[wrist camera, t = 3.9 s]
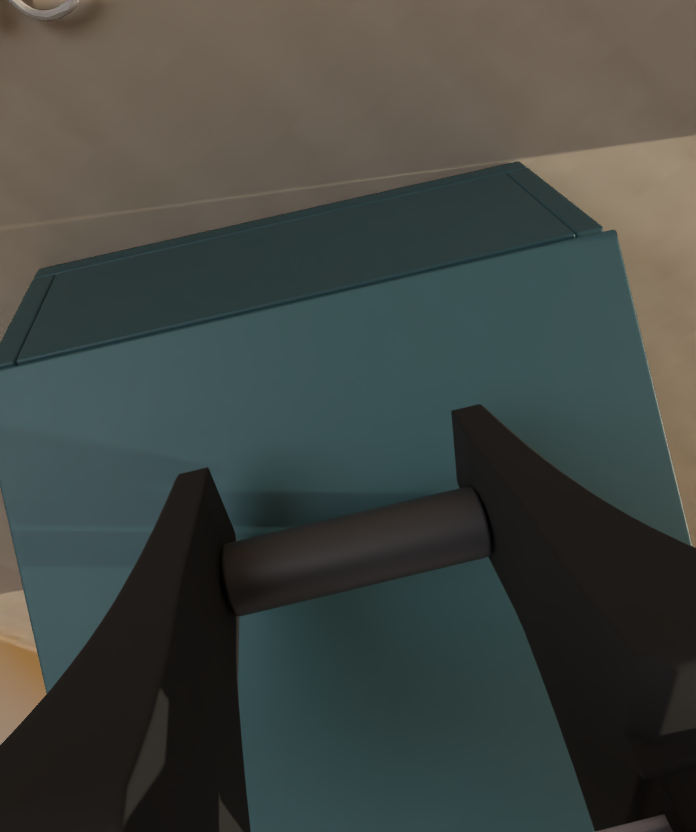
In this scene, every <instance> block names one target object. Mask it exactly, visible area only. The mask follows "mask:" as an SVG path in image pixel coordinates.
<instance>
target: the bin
mask: <svg viewBox="0 0 696 832" xmlns="http://www.w3.org/2000/svg"><path fill="white" fill-rule="evenodd" d="M601 232H603V227H602V226H601V225H600V224H598V223H597V222H596V221H594V220H593V219H592V218H591V217H589V216H588V215H587V214H586V213H584V212H583V211H582V210H580V209H579V208H578V207H577V206H575V205H574V204H573V203H572V202H570V201H569V200H568V199H567V198H565V197H564V196H563V195H561V194H560V193H559V192H558V191H556V190H555V189H554V188H553V187H551V186H550V185H549V184H547V183H546V182H545V181H544V180H542V179H541V178H540V177H539V176H537V175H536V174H535V173H533V172H532V171H531V170H530V169H528V168H526V166H524V165H523V164H522V163H520V162H514V163H509V164H505V165H500V166H496V167H492V168H487V169H483V170H478V171H474V172H469V173H465V174H460V175H456V176H451V177H447V178H443V179H438V180H434V181H429V182H425V183H420V184H416V185H411V186H407V187H403V188H398V189H394V190H389V191H385V192H380V193H376V194H371V195H367V196H363V197H358V198H354V199H349V200H345V201H340V202H336V203H331V204H327V205H322V206H318V207H314V208H309V209H305V210H300V211H296V212H291V213H287V214H282V215H278V216H274V217H269V218H265V219H260V220H256V221H251V222H247V223H242V224H238V225H233V226H229V227H225V228H220V229H216V230H211V231H207V232H202V233H198V234H193V235H189V236H185V237H180V238H176V239H171V240H167V241H162V242H158V243H153V244H149V245H145V246H140V247H136V248H131V249H127V250H122V251H118V252H113V253H109V254H104V255H100V256H96V257H91V258H87V259H82V260H78V261H73V262H69V263H64V264H60V265H56V266H51V267H47V268H42V269H39V270H38V271H37V273H36V275H35V277H34V280H33V281H32V283H31V285H30V287H29V289H28V290H27V292H26V294H25V296H24V298H23V300H22V302H21V304H20V306H19V308H18V310H17V312H16V313H15V315H14V317H13V319H12V321H11V323H10V325H9V327H8V329H7V331H6V333H5V335H4V337H3V338H2V340H1V342H0V369H5V368H9V367H13V366H18V365H22V364H27V363H31V362H35V361H40V360H44V359H48V358H53V357H57V356H62V355H66V354H70V353H75V352H79V351H84V350H88V349H92V348H97V347H101V346H105V345H110V344H114V343H119V342H123V341H127V340H132V339H136V338H141V337H145V336H149V335H154V334H158V333H162V332H167V331H171V330H176V329H180V328H184V327H189V326H193V325H198V324H202V323H206V322H211V321H215V320H219V319H224V318H228V317H233V316H237V315H241V314H246V313H250V312H255V311H259V310H263V309H268V308H272V307H276V306H281V305H285V304H290V303H294V302H298V301H303V300H307V299H312V298H316V297H320V296H325V295H329V294H333V293H338V292H342V291H347V290H351V289H355V288H360V287H364V286H368V285H373V284H377V283H382V282H386V281H390V280H395V279H399V278H404V277H408V276H412V275H417V274H421V273H425V272H430V271H434V270H439V269H443V268H447V267H452V266H456V265H461V264H465V263H469V262H474V261H478V260H482V259H487V258H491V257H496V256H500V255H504V254H509V253H513V252H518V251H522V250H526V249H531V248H535V247H539V246H544V245H548V244H553V243H557V242H561V241H566V240H570V239H575V238H579V237H583V236H588V235H592V234H596V233H601Z"/></svg>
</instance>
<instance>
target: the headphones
mask: <svg viewBox="0 0 696 832" xmlns="http://www.w3.org/2000/svg"><path fill="white" fill-rule="evenodd" d="M8 1H10V2H11V3H12V4H13V5H14V6H15V7H16V8H17V9H18V10H19V11H21V12H22V13H24V14H26V15H27V16H29V17H31V18H34V19H37V20H43V21H50V20H54V19H58V18H61V17H63V16H65V15H67V14H69V13H71V12H72V10H73V9H74V8H75V7H76V6H77V5H78V3H79V0H67V1H66V2H64V3H63V4H62V5H60V6H59V7H56V8H54V9H51V10H42V11H41V10H37V9H34V8H31V7H30V6H28V5H26V4H25V3H24V2H23V1H21V0H8Z"/></svg>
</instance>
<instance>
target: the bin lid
mask: <svg viewBox="0 0 696 832" xmlns="http://www.w3.org/2000/svg"><path fill="white" fill-rule="evenodd" d="M477 404H481V405H482V406H484V407H485V408H487V409H488V410H489V411H490V412H491V413H492V414H493V415H494V416H495V417H496V418H497V419H498V420H499V421H501V422H502V423H503V424H504V425H505V426H506V427H507V428H508V429H510V430H511V431H512V432H513V433H514V434H515V435H516V436H518V437H519V438H520V439H521V440H522V441H523V442H525V443H526V444H527V445H528V446H530V447H531V448H532V449H533V450H534V451H536V452H537V453H538V454H540V455H541V456H542V457H543V458H545V459H546V460H547V461H548V462H550V463H551V464H552V465H554V466H555V467H556V468H558V469H559V470H560V471H562V472H563V473H564V474H566V475H567V476H568V477H570V478H571V479H573V480H574V481H576V482H577V483H579V484H580V485H581V486H583V487H584V488H586V489H587V490H589V491H590V492H592V493H593V494H595V495H596V496H598V497H599V498H601V499H603V500H604V501H606V502H607V503H609V504H611V505H612V506H614V507H616V508H618V509H619V510H621V511H623V512H624V513H626V514H628V515H629V516H631V517H633V518H635V519H637V520H639V521H641V522H642V523H644V524H646V525H648V526H650V527H652V528H654V529H656V530H658V531H661V532H663V533H665V534H667V535H669V536H671V537H673V538H675V539H677V540H679V541H681V542H683V543H685V544H688V545H690V546H692V542H691V538H690V534H689V530H688V526H687V522H686V517H685V513H684V509H683V505H682V501H681V497H680V493H679V489H678V484H677V480H676V476H675V472H674V468H673V464H672V460H671V455H670V451H669V447H668V443H667V439H666V435H665V431H664V427H663V422H662V418H661V414H660V410H659V406H658V402H657V398H656V393H655V389H654V385H653V381H652V377H651V373H650V369H649V365H648V360H647V356H646V352H645V348H644V344H643V340H642V336H641V332H640V327H639V323H638V319H637V315H636V311H635V307H634V303H633V298H632V294H631V290H630V286H629V282H628V278H627V274H626V270H625V265H624V261H623V257H622V253H621V249H620V245H619V241H618V237H617V232H616V230H610V231H605V232H601V233H596V234H592V235H588V236H583V237H579V238H575V239H570V240H566V241H561V242H557V243H553V244H548V245H544V246H539V247H535V248H531V249H526V250H522V251H518V252H513V253H509V254H504V255H500V256H496V257H491V258H487V259H482V260H478V261H474V262H469V263H465V264H461V265H456V266H452V267H447V268H443V269H439V270H434V271H430V272H425V273H421V274H417V275H412V276H408V277H404V278H399V279H395V280H390V281H386V282H382V283H377V284H373V285H368V286H364V287H360V288H355V289H351V290H347V291H342V292H338V293H333V294H329V295H325V296H320V297H316V298H312V299H307V300H303V301H298V302H294V303H290V304H285V305H281V306H276V307H272V308H268V309H263V310H259V311H255V312H250V313H246V314H241V315H237V316H233V317H228V318H224V319H219V320H215V321H211V322H206V323H202V324H198V325H193V326H189V327H184V328H180V329H176V330H171V331H167V332H162V333H158V334H154V335H149V336H145V337H141V338H136V339H132V340H127V341H123V342H119V343H114V344H110V345H105V346H101V347H97V348H92V349H88V350H84V351H79V352H75V353H70V354H66V355H62V356H57V357H53V358H48V359H44V360H40V361H35V362H31V363H27V364H22V365H18V366H13V367H9V368H5V369H0V486H1V491H2V495H3V500H4V504H5V509H6V513H7V518H8V522H9V527H10V531H11V536H12V540H13V545H14V549H15V554H16V558H17V563H18V567H19V572H20V576H21V581H22V585H23V590H24V594H25V599H26V603H27V608H28V612H29V616H30V621H31V625H32V630H33V634H34V639H35V643H36V648H37V652H38V656H39V661H40V666H41V670H42V675H43V679H44V683H45V687H46V693H48V692H49V691H50V690H51V689H52V687H53V686H54V685H55V684H56V682H57V681H58V680H59V678H60V677H61V676H62V675H63V673H64V672H65V671H66V670H67V668H68V667H69V666H70V664H71V663H72V662H73V660H74V659H75V658H76V656H77V655H78V654H79V652H80V651H81V650H82V648H83V647H84V646H85V644H86V643H87V642H88V640H89V639H90V637H91V636H92V634H93V633H94V631H95V630H96V629H97V627H98V626H99V624H100V623H101V621H102V620H103V618H104V617H105V615H106V613H107V612H108V610H109V609H110V607H111V606H112V604H113V602H114V601H115V599H116V597H117V596H118V594H119V592H120V590H121V589H122V587H123V585H124V583H125V582H126V580H127V578H128V576H129V575H130V573H131V571H132V569H133V568H134V566H135V564H136V562H137V560H138V558H139V557H140V555H141V553H142V551H143V549H144V547H145V545H146V543H147V541H148V539H149V537H150V535H151V533H152V531H153V529H154V526H155V524H156V522H157V520H158V518H159V516H160V513H161V511H162V509H163V507H164V505H165V502H166V500H167V498H168V495H169V493H170V491H171V489H172V486H173V484H174V481H175V479H176V478H177V476H178V475H179V474H181V473H186V472H190V471H194V470H198V469H203V468H207V467H208V468H209V470H210V473H211V475H212V478H213V480H214V482H215V485H216V487H217V490H218V492H219V495H220V497H221V499H222V502H223V504H224V507H225V509H226V511H227V514H228V516H229V519H230V521H231V524H232V526H233V528H234V531H235V533H236V541H235V542H231V543H227V544H225V545H224V546H223V548H222V552H221V571H222V578H223V584H224V588H225V592H226V596H227V599H228V602H229V605H230V607H231V609H232V611H233V612H234V614H235V615H237V616H240V621H239V663H238V693H239V711H240V723H241V736H242V748H243V759H244V770H245V781H246V791H247V801H248V810H249V819H250V829H251V832H595V830H594V827H593V824H592V821H591V818H590V815H589V812H588V809H587V806H586V803H585V800H584V797H583V794H582V791H581V788H580V785H579V782H578V779H577V776H576V773H575V770H574V767H573V764H572V761H571V758H570V755H569V753H568V750H567V747H566V744H565V741H564V738H563V735H562V732H561V730H560V727H559V724H558V721H557V718H556V715H555V713H554V710H553V707H552V704H551V702H550V699H549V696H548V693H547V691H546V688H545V685H544V682H543V680H542V677H541V674H540V671H539V669H538V666H537V664H536V661H535V658H534V656H533V653H532V650H531V648H530V645H529V642H528V640H527V637H526V634H525V632H524V629H523V627H522V625H521V623H520V620H519V618H518V616H517V614H516V611H515V609H514V607H513V605H512V603H511V601H510V599H509V597H508V595H507V593H506V591H505V589H504V587H503V585H502V583H501V581H500V579H499V577H498V575H497V573H496V571H495V569H494V567H493V565H492V563H491V561H490V559H489V557H488V556H490V555H491V549H492V542H491V534H490V529H489V525H488V521H487V517H486V514H485V511H484V508H483V505H482V502H481V500H480V498H479V496H478V494H477V493H476V491H475V490H474V488H472V487H468V486H467V487H463V488H459V485H458V483H457V475H456V463H455V451H454V439H453V427H452V415H451V411H452V410H456V409H460V408H465V407H469V406H473V405H477ZM692 547H693V546H692Z"/></svg>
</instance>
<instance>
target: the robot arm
mask: <svg viewBox="0 0 696 832" xmlns="http://www.w3.org/2000/svg"><path fill="white" fill-rule="evenodd" d="M451 415H452V427H453V439H454V451H455V463H456V475H457V483H458V485H459V488H463V487H467V486H468V487H472V488H474V490H475V491H476V493H477V494H478V496H479V498H480V500H481V502H482V505H483V508H484V511H485V514H486V517H487V521H488V525H489V529H490V534H491V542H492V549H491V555H490V556H488V557H489V559H490V561H491V563H492V565H493V567H494V569H495V571H496V573H497V575H498V577H499V579H500V581H501V583H502V585H503V587H504V589H505V591H506V593H507V595H508V597H509V599H510V601H511V603H512V605H513V607H514V609H515V611H516V614H517V616H518V618H519V620H520V623H521V625H522V627H523V629H524V632H525V634H526V637H527V640H528V642H529V645H530V648H531V650H532V653H533V656H534V658H535V661H536V664H537V666H538V669H539V671H540V674H541V677H542V680H543V682H544V685H545V688H546V691H547V693H548V696H549V699H550V702H551V704H552V707H553V710H554V713H555V715H556V718H557V721H558V724H559V727H560V730H561V732H562V735H563V738H564V741H565V744H566V747H567V750H568V753H569V755H570V758H571V761H572V764H573V767H574V770H575V773H576V776H577V779H578V782H579V785H580V788H581V791H582V794H583V797H584V800H585V803H586V806H587V809H588V812H589V815H590V818H591V821H592V824H593V827H594V830H595V832H696V548H694V547H692V546H690V545H688V544H685V543H683V542H681V541H679V540H677V539H675V538H673V537H671V536H669V535H667V534H665V533H663V532H661V531H658V530H656V529H654V528H652V527H650V526H648V525H646V524H644V523H642V522H641V521H639V520H637V519H635V518H633V517H631V516H629V515H628V514H626V513H624V512H623V511H621V510H619V509H618V508H616V507H614V506H612V505H611V504H609V503H607V502H606V501H604V500H603V499H601V498H599V497H598V496H596V495H595V494H593V493H592V492H590V491H589V490H587V489H586V488H584V487H583V486H581V485H580V484H579V483H577V482H576V481H574V480H573V479H571V478H570V477H568V476H567V475H566V474H564V473H563V472H562V471H560V470H559V469H558V468H556V467H555V466H554V465H552V464H551V463H550V462H548V461H547V460H546V459H545V458H543V457H542V456H541V455H540V454H538V453H537V452H536V451H534V450H533V449H532V448H531V447H530V446H528V445H527V444H526V443H525V442H523V441H522V440H521V439H520V438H519V437H518V436H516V435H515V434H514V433H513V432H512V431H511V430H510V429H508V428H507V427H506V426H505V425H504V424H503V423H502V422H501V421H499V420H498V419H497V418H496V417H495V416H494V415H493V414H492V413H491V412H490V411H489V410H488V409H487V408H485V407H484V406H482V405H481V404H477V405H473V406H469V407H465V408H460V409H456V410H452V411H451ZM235 541H236V533H235V531H234V528H233V526H232V524H231V521H230V519H229V516H228V514H227V511H226V509H225V507H224V504H223V502H222V499H221V497H220V495H219V492H218V490H217V487H216V485H215V482H214V480H213V478H212V475H211V473H210V470H209V468H208V467H207V468H203V469H198V470H194V471H190V472H186V473H181V474H179V475H178V476H177V478H176V479H175V481H174V484H173V486H172V489H171V491H170V493H169V495H168V498H167V500H166V502H165V505H164V507H163V509H162V511H161V513H160V516H159V518H158V520H157V522H156V524H155V526H154V529H153V531H152V533H151V535H150V537H149V539H148V541H147V543H146V545H145V547H144V549H143V551H142V553H141V555H140V557H139V558H138V560H137V562H136V564H135V566H134V568H133V569H132V571H131V573H130V575H129V576H128V578H127V580H126V582H125V583H124V585H123V587H122V589H121V590H120V592H119V594H118V596H117V597H116V599H115V601H114V602H113V604H112V606H111V607H110V609H109V610H108V612H107V613H106V615H105V617H104V618H103V620H102V621H101V623H100V624H99V626H98V627H97V629H96V630H95V631H94V633H93V634H92V636H91V637H90V639H89V640H88V642H87V643H86V644H85V646H84V647H83V648H82V650H81V651H80V652H79V654H78V655H77V656H76V658H75V659H74V660H73V662H72V663H71V664H70V666H69V667H68V668H67V670H66V671H65V672H64V673H63V675H62V676H61V677H60V678H59V680H58V681H57V682H56V684H55V685H54V686H53V687H52V689H51V690H50V691H49V692H48V693H47V695H46V696H45V697H44V698H43V699H42V700H41V701H40V703H39V704H38V705H37V706H36V707H35V708H34V709H33V710H32V712H31V713H30V714H29V715H28V716H27V717H26V718H25V719H24V721H23V722H22V723H21V724H20V725H19V726H18V727H17V728H16V729H15V730H14V732H13V733H12V734H11V735H10V736H9V737H8V738H7V739H6V740H5V741H4V742H3V743H2V744H1V745H0V832H251V829H250V819H249V810H248V801H247V791H246V781H245V770H244V759H243V748H242V736H241V723H240V711H239V693H238V663H239V621H240V616H237V615H235V614H234V612H233V611H232V609H231V607H230V605H229V602H228V599H227V596H226V592H225V588H224V584H223V578H222V571H221V552H222V548H223V546H224V545H225V544H227V543H231V542H235Z"/></svg>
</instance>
